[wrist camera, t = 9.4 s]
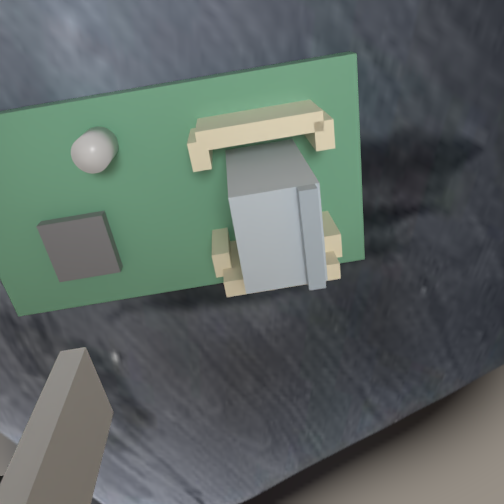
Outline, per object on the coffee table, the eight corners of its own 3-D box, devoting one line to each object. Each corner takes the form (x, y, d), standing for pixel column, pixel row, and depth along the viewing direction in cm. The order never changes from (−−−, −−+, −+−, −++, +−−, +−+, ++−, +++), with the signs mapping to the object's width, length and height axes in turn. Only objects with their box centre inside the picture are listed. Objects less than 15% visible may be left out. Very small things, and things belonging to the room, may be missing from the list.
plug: (225, 150, 27) (228, 203, 19) (292, 138, 27) (322, 187, 19) (239, 226, 29) (246, 300, 21) (300, 215, 29) (330, 286, 21)
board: (-59, 121, 26) (-137, 149, 21) (349, 51, 26) (386, 61, 20) (26, 304, 32) (-15, 366, 27) (358, 249, 32) (389, 299, 26)
